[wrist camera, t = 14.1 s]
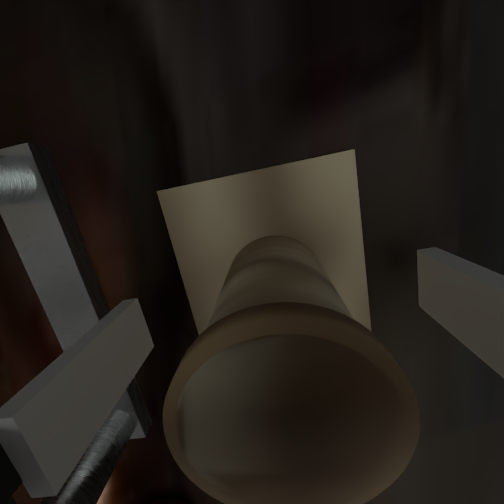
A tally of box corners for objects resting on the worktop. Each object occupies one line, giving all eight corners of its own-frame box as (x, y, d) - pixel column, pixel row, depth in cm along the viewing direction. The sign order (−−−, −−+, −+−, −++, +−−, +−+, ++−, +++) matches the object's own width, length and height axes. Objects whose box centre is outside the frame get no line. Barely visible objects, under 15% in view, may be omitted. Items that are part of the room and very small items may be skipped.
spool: (235, 334, 16) (199, 527, 7) (211, 241, 14) (128, 343, 6) (334, 318, 15) (424, 509, 6) (320, 220, 14) (414, 298, 5)
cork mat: (214, 372, 18) (212, 381, 17) (162, 190, 14) (156, 191, 14) (368, 351, 17) (373, 359, 16) (349, 150, 13) (354, 149, 13)
